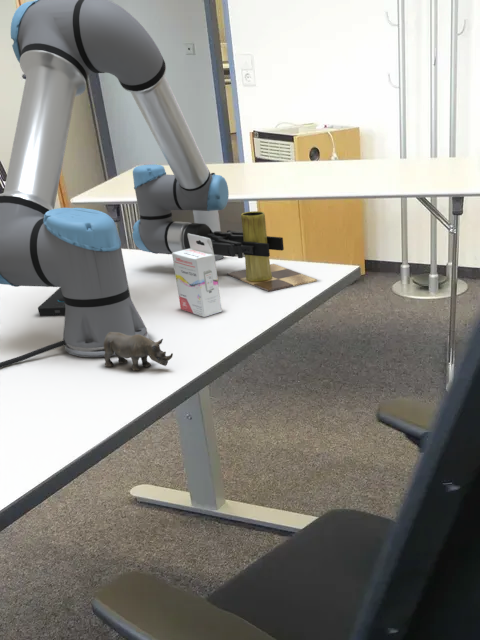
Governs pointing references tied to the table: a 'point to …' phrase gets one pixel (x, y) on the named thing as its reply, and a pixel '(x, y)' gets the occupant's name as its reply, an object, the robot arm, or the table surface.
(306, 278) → the board
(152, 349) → the rhino figurine
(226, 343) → the table surface
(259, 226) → the vase
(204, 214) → the travel mug
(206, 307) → the ink cartridge box
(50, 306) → the smart home device
